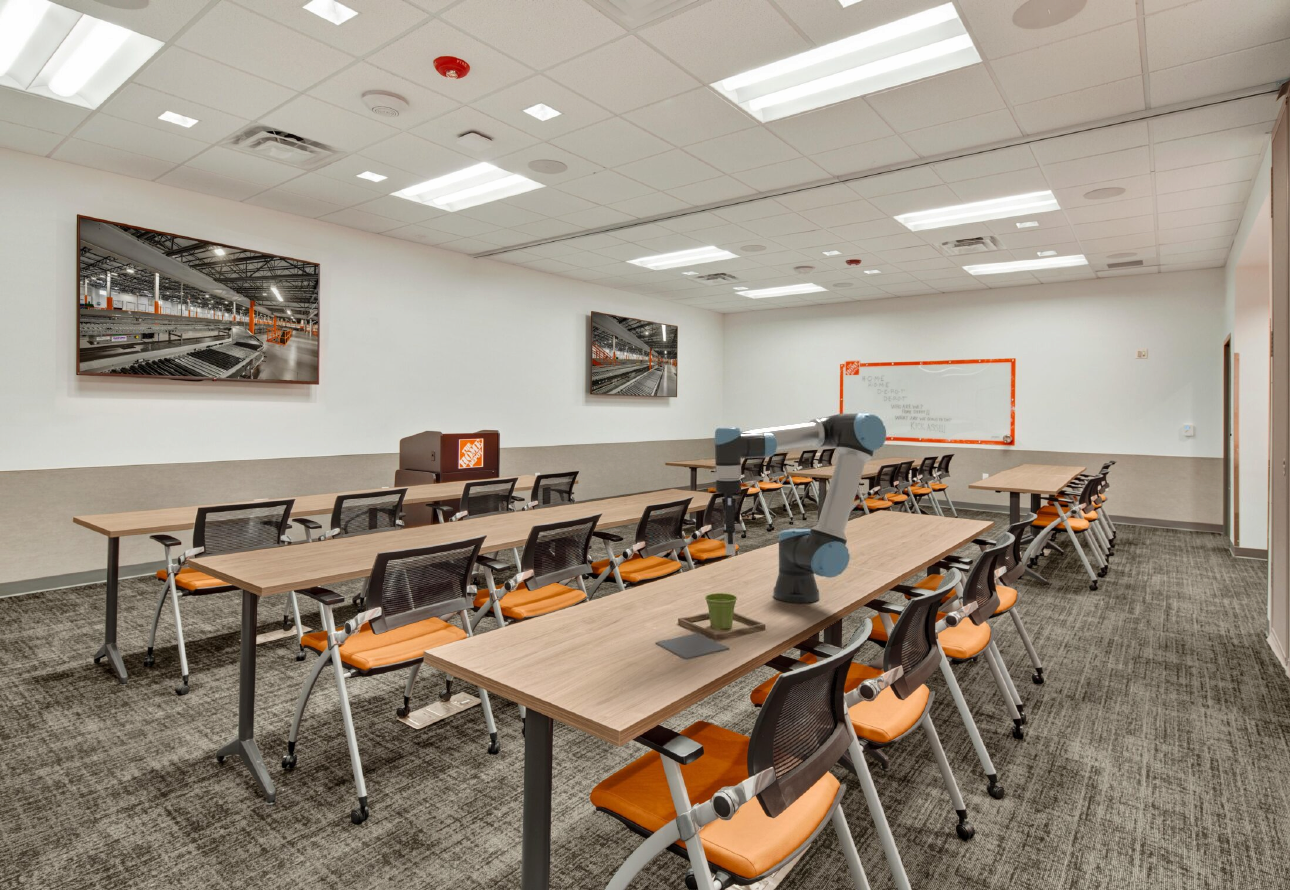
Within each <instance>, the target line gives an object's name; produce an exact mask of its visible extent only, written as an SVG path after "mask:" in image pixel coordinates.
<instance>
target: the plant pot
mask: <svg viewBox="0 0 1290 890" xmlns="http://www.w3.org/2000/svg"><path fill="white" fill-rule="evenodd" d="M704 599H705V600H706V604H707V609H708V612H709V616H710V618H709V621H710V627H712V629H716V630H725V629H727V630H728V629H732V627H733V620H734V618H733V613H734V612H735V605H736V602H737V600H738V597H737V595H735V594H732V593H726V592H725V593H724V592H717V593H708V594H706V595H705V596H704Z"/></svg>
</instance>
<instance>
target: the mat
mask: <svg viewBox="0 0 1290 890" xmlns="http://www.w3.org/2000/svg"><path fill="white" fill-rule="evenodd" d="M655 644H656V645H657V646H660V647H661V648H663V649H664V650H666V651H669V652H671V653H672V654H674V655H676V656H677V657H680V658H682V659H684V660H685V661H686V660H690V659H694V658H698V657H703V656H706V655H710V654H714V653H719V652H722V651H723V652H724V651H727V650H730V647H729V646H727V645H724V644H722V643H720V642H718V641H715V640H713V639H711V638H708V637H706V636H704V635H702V634H700V633H698V632H695V633H691V634H687V635H682V636H678V637H677V636H676V637H673V638H669V639H665V640H660V641H655Z"/></svg>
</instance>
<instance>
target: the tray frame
mask: <svg viewBox="0 0 1290 890" xmlns="http://www.w3.org/2000/svg"><path fill="white" fill-rule="evenodd" d="M704 620H710V616H709V611H708V612H705V613H704V612H703V613H699V614H695V615H687V616H685V617H684V616H683V617H679V618H677V623H678V625H680V626H682V627H684V628H687V629H689V630H691V631H693V632H695V633H699V634H701V635H703V636H705V637H707V638H709V639H712V640H714V641H716V642H718V641H721V640H726V639H729V638H734V637H739V636H743V635H747V634H750V633H756V632H760V631H765V630H766V623H763V622H761V621H759V620H756V619H753V618H750V617H747V616H745V615H742V614H740V613H737V612H735V611H734V613H733V620H735V621H736V620H737V621H739V622H741V623H745V624H747V625H749V626H745V627H741V628H736V629H731V630H728V631H722V632H718V633H716V632H714V631H711V630H709V629H707V628H705V627H702V626H700V625H697V624H696V623H694V622H698V621H704Z"/></svg>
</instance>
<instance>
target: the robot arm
mask: <svg viewBox="0 0 1290 890" xmlns="http://www.w3.org/2000/svg"><path fill="white" fill-rule="evenodd" d="M886 429H887V428H886V426H885V425H884V421H883V420H882V419H881V418H880V417H879V416H878V415H876V414H873V413H867V412H860V413H838V414H833V415H829V416H824V417H819V418H813V419H810V420H809V421H808V422H804V423H798V424H789V425H783V426H774V427H767V428H765V427H764V428H758V429H749V430H743V431H741V429H740V428H739V427H737V426H736V427H718V428H716V429H715V431H714V457H715V458H714V459H715V468H713V470H712V471H713V472H715V478H716V479H717V480H715V492H716V493H718V494H723V498H722V497H721V503H722V508H723V509H722V510H723V514H724V518H723V520H724V521H723V522H724V529H723V531H722V532H723V534H724V546H725V556H736V528H735V525H736V521H735V513H736V504H737V503H736V502H737V501H736V498H735V497H734V494H739V493H741V492H742V481H741V478H742V465H741V463H742V462H741V460H742V459H754V458H755V459H756V458H757V459H759V458H760V459H761V458H763V459H765V458H769V457H770V458H771V457H773V456H774V455H775V453H776V452H777V451H778V450H785V449H793V448H800V447H806V446H807V447H808V446H812V447H813V448H823V447H827V448H828V447H829V448H830V447H831V448H835V450H836V451H837V455H838V457H837V460H836V463H835V466H834V470H833V473H832V476H831V479H830V482H829V486H828V489H827V493H826V495H825V499H824V501H823V505H822V508H821V512H820V515H819V519H818V521H817V524H816V525H814V526H813V527H811V528H794V529H792V528H791V529H784V530H781V531H780V532H779V534H778V541H777V542H778V575H777V578H776V582H775V586H774V587H773V597H774V598H775V599H777V600H778V601H783V602H787V603H795V604H796V603H797V604H798V603H799V604H804V603H805V604H807V603H808V604H809V603H813V602H816V601H818V600H819V599H820V591H819V589H818V585H817V580H816V578H815V576H819V577H822V578H823V577H825V578H827V579H828V578H831V579H832V578H836V577H838V576H839V575H841V574H842V573H843V572H845V570H846V569H847V567H848V565H849V562H850V560H851V559H850V558H851V555H850V553H849V552H850V551H849V548H848V546H847V541H848V537H846V535H845V532H846V527H847V524H848V521H849V517H850V514H851V512H852V508H853V504H854V502H855V499H856V495H857V491H858V490H859V485H860V482H861V479H862V475H863V472H864V469H865V465H866V464H867V462H868V461H870V460H872V459H873V455H874V453H875V451H877V450H879V449H880V448H882V447H883V445H884V444H885V442H886V439H887V430H886Z"/></svg>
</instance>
